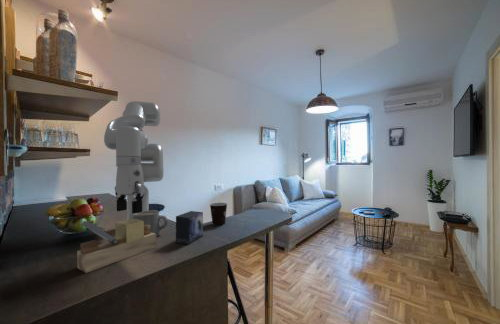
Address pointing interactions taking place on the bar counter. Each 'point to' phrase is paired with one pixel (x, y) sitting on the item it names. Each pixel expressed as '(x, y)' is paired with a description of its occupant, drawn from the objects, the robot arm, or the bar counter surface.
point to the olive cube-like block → (129, 230)
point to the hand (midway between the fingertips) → (129, 211)
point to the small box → (189, 227)
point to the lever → (100, 232)
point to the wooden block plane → (112, 251)
